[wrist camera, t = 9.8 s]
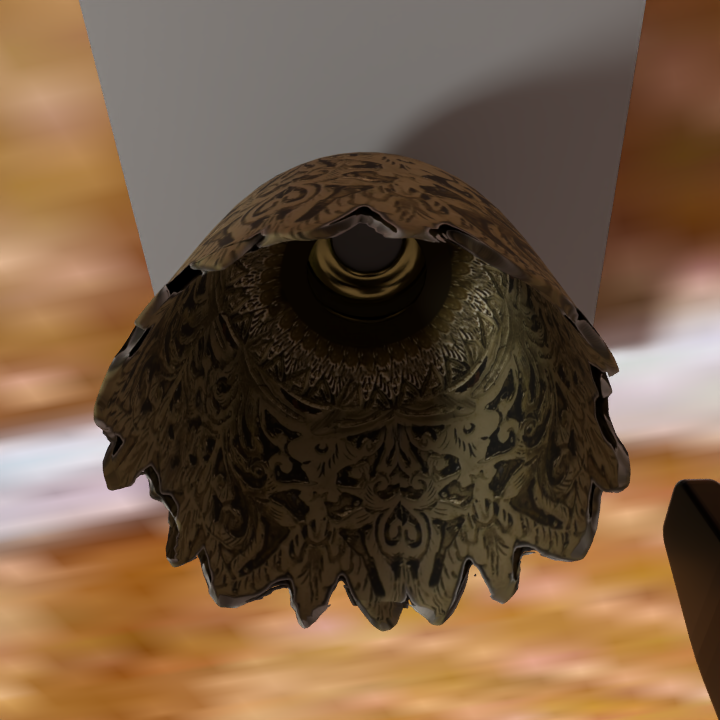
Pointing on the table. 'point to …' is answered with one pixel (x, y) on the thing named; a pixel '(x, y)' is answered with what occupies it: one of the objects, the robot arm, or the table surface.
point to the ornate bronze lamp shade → (365, 399)
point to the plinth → (371, 110)
